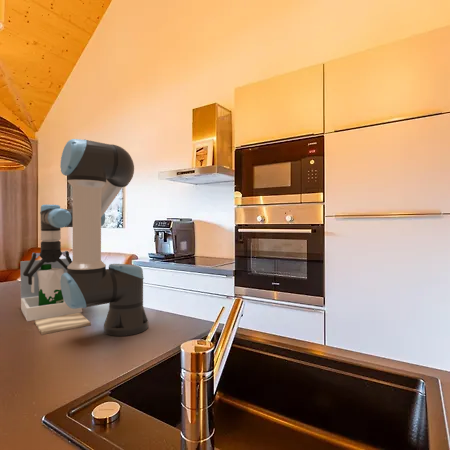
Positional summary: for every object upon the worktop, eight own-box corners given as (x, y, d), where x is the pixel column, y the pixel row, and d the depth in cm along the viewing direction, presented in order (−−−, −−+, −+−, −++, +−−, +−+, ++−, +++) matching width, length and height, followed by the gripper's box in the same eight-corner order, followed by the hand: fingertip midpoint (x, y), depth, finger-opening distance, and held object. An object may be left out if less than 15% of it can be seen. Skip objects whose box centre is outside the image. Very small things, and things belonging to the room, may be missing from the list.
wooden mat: (90, 325, 118) (90, 322, 118) (41, 334, 109) (41, 331, 109) (79, 315, 131) (79, 312, 131) (34, 322, 121) (34, 320, 121)
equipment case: (82, 312, 135) (81, 262, 135) (27, 321, 123) (26, 266, 123) (67, 299, 157) (67, 256, 157) (19, 306, 145) (18, 260, 144)
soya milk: (46, 308, 142) (46, 263, 141) (66, 308, 141) (66, 263, 141) (34, 313, 133) (34, 265, 133) (56, 314, 133) (55, 266, 132)
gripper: (79, 239, 147) (79, 285, 148) (15, 241, 132) (15, 292, 132) (84, 240, 141) (84, 287, 142) (17, 242, 126) (17, 295, 126)
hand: (51, 290), depth 137 cm, fingers open, 13 cm apart
